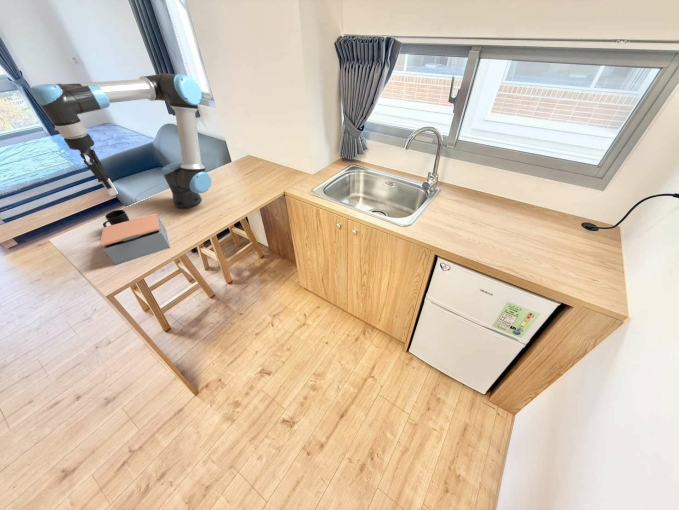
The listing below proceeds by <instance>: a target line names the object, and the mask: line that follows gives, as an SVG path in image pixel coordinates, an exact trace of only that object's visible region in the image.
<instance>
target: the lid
mask: <svg viewBox="0 0 679 510" xmlns="http://www.w3.org/2000/svg"><path fill="white" fill-rule="evenodd" d="M158 217H159V215H158V213H157V212H156V213H153V214H149V215H145V216H142V217H138V218H134V219H129V220H130V221H126V222H122V223H118V224H115V225H111V224H110V225H108V226H107V225H106V226H107V227H104V226H103V228H102V232H101V239H100V243H99V247H101V248H102V247H104V246H105V245H109V244H112V243H116V242H119V241H122V240H123V241H127V240H130V239H134V238H137V237H139V236H140V235H143V234H147V233H150V232H154V231H157V230H160V229H159V222H158Z"/></svg>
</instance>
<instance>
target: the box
mask: <svg viewBox="0 0 679 510" xmlns="http://www.w3.org/2000/svg"><path fill="white" fill-rule="evenodd" d="M158 222H159V229H160V230H157V231H154V232H150V233H147V234H143V235H140V236H139V237H137V238H134V239H130V240H127V241H123V240H122V241H119V242H116V243H112V244H109V245H105V246H103V251H104V252H105V254H106V255H107V256H108V258H110V260H111V262H113V264H114V265H115V266H116V265H119V264H123V263H125V262H130V261H133V260H136V259H140V258H142V257H145V256H148V255H151V254H155V253H157V252H158V253H159V252H160V251H164V250H168V249H170V248H171V245H170V243H169V239H168V234H167V231H166V228H165V225H164V223H163V222H162V221H161V218H160V217H159V216H158Z"/></svg>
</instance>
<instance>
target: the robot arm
mask: <svg viewBox="0 0 679 510" xmlns="http://www.w3.org/2000/svg"><path fill="white" fill-rule="evenodd" d="M30 92H31V94H32V95H33V98H34V99H35V100H36V102H37V104H38V105H39V106H40V107H41V109H42V110H43V112H44V113H45V114H46V116H47V118H48V119H49V120H50V122H51V123H52V124H53V126H54V131H56V132H58V133H59V134H60V136H61V137H62V138H63V140H64V142H65V143H66V145H67V146H68V148H69V149H70V150H74V151H76V150H77V151H79V152H80V153H79V156H80V157H81V159H83V163H84V164H85V165H86V166H87V167H88V168H89V170H90V171H91V173H93V175H94V176H95V178H96V180H97V182H98V183H101V184H102V185H103V187H104V188H105V190H106V191H107V194H108V195H109V196H110V197H111V196H116V195H118V194H119V192H118V189H116V187H115V185H114V184H113V182H112V180H111V179H110V178H111V175H108V172H107V171H106V169H105V168H104V165H103V164H102V163H101V161H100V159H99V157H98V156H97V154H96V152H95V151H96V150H94V148H93V149H92V148H91V147H93V146H95V141H94V140H93V137H92V136H91V135H90V134H89V133H88V130H87V128H86V127H85V125H84V123H83V121H82V120H81V119H80V118H79V116H78V115H81V114H82V115H83V114H86V113H90V112H96V111H99V110H104V109H106V108H109V107H110V104H112V103H114V104H116V103H121V102H122V103H123V102H131V101H140V100H148V101H153V102H154V101H162V102H169V105H170V108H171V109H172V110H173V111H174V114H175V120H176V128H177V133H178V140H179V146H180V151H181V152H180V153H181V157H182V161H177V162H176V161H175V162H173V163H169V164H166V165H164V166H163V167H162V168H161V172H162V175H163V177H164V179H165V180H166V183H167V185H168V188H169V189H170V191H171V194H172V195H171V196H172V203H173V206H174V207H175V208H176V209H181V210H182V209H183V210H186V209H190V208H194V207H196V206H198V205H199V204H201V203H202V201H203V199H202V196H201V195H200V194H204V193H206V192H208V191H209V189H210V188H211V186H212V177H211V175H210V174H209V173H207V171H206V166H205V165H204V164H203V163H202V157H201V156H202V155H201V150H200V142H199V141H200V140H199V133H198V126H197V118H196V113H197V111H198V110H199V106H198V105H199V104H200V103H201V101H202V98H203V97H202V95H203V93H202V90H201V88H200V86H199V83H197V82H196V80H195V79H194V78H193V77H191V76H189V75H186V74H180V73H178V74H177V73H164V72H163V73H158V74H151V75H146V76H143V75H142V76H139V78H138V79H126V80H125V79H124V80H108V81H95V82H93V81H92V82H79V83H77V82H76V83H47V84H37V85H33V86H32V87H31V88H30Z"/></svg>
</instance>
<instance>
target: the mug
mask: <svg viewBox="0 0 679 510" xmlns="http://www.w3.org/2000/svg"><path fill="white" fill-rule="evenodd" d="M105 219H106V221H104V222H103V223H102V226H103V228H104V227H107V223H109V224H110V226H111V225H115V224H118V223H122V222H126V221H130V220H131V219H130V218H129V216H128V215H127V213H126V211H125V210H124V209H117V210H116V209H115V210H112V211H110V212H108V213H107V214H106V215H105Z"/></svg>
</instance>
